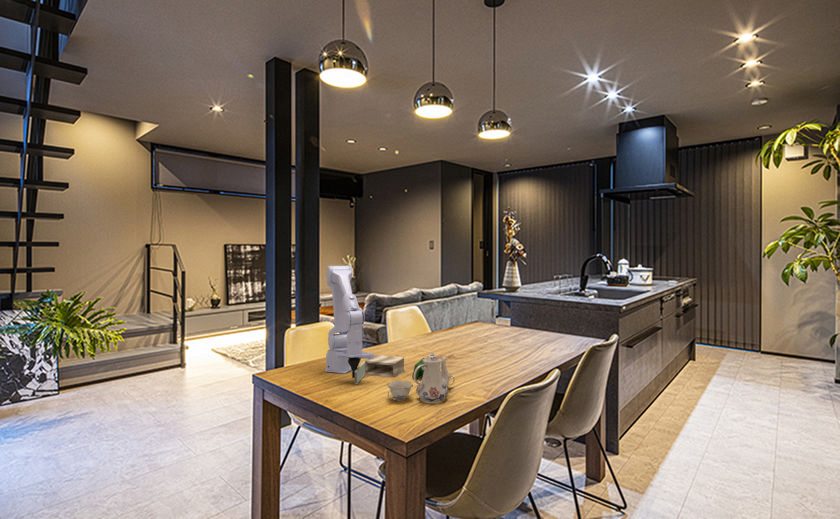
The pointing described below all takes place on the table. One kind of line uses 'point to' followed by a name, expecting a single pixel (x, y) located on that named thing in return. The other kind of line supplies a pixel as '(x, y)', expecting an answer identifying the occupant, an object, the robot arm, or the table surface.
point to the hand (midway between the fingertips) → (354, 377)
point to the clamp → (420, 370)
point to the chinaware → (425, 382)
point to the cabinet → (384, 366)
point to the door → (359, 373)
